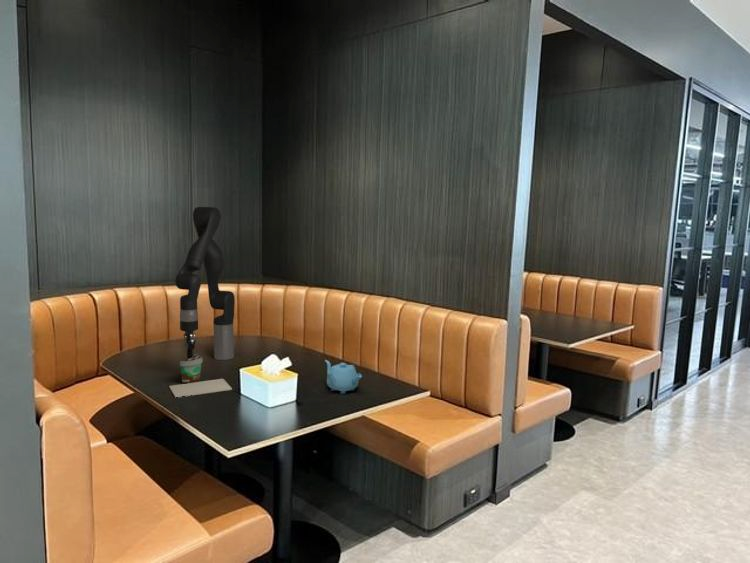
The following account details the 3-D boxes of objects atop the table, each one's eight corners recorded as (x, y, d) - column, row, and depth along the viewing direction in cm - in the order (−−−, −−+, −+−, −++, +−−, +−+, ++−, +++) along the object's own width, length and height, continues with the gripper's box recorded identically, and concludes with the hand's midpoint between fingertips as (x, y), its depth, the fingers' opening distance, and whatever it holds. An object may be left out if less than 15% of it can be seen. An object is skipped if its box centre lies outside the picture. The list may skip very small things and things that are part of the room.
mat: (169, 387, 224) (169, 385, 224) (223, 379, 235) (223, 378, 235) (175, 397, 212) (175, 396, 212) (231, 389, 223) (231, 388, 223)
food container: (193, 385, 226) (193, 362, 225) (180, 384, 228) (179, 361, 226) (208, 376, 238) (208, 354, 237) (195, 375, 240) (195, 353, 238)
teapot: (323, 395, 219) (323, 368, 217) (324, 384, 232) (324, 358, 231) (361, 395, 220) (361, 368, 218) (360, 384, 233) (360, 359, 232)
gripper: (201, 321, 233) (202, 360, 236) (194, 315, 245) (195, 353, 247) (183, 322, 230) (183, 362, 232) (177, 317, 241) (178, 355, 243)
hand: (189, 357), depth 240 cm, fingers closed
